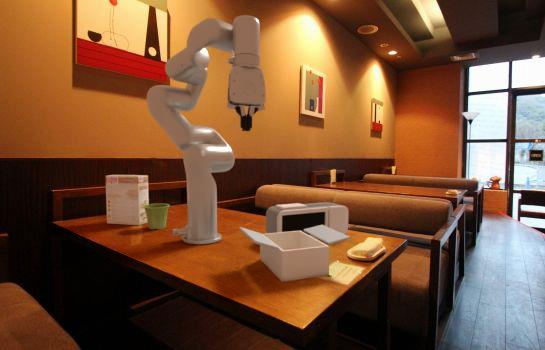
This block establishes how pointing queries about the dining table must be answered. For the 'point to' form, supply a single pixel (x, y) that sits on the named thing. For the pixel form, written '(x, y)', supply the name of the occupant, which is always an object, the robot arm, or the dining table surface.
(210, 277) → the dining table surface
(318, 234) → the far flap
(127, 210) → the coffeecake box
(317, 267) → the carton
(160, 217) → the plant pot
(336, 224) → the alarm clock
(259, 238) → the near flap
